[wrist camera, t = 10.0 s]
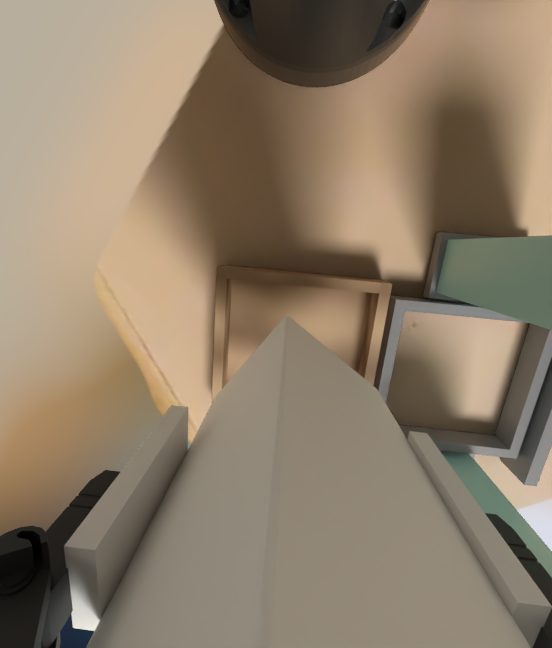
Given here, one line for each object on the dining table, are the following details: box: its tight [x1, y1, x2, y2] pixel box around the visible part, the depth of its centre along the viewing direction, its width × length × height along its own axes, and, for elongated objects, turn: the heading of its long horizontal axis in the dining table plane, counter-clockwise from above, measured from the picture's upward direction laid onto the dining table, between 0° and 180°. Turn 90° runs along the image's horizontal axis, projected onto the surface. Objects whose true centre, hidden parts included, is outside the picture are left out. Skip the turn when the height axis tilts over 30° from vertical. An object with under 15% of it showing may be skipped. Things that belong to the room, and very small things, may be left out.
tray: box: [212, 265, 392, 403], centre depth 25 cm, size 13×13×3 cm
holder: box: [373, 232, 552, 577], centre depth 20 cm, size 23×14×13 cm, turn 175°
